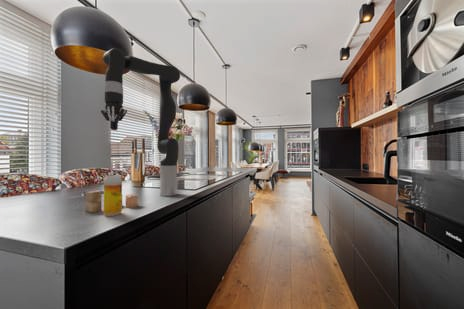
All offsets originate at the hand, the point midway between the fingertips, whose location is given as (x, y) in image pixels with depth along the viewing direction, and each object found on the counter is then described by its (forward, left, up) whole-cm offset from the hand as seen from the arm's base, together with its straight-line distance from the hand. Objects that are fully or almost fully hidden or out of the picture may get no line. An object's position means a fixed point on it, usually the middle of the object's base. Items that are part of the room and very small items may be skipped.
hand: (113, 130), depth 96 cm
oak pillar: (+11, 0, -35) cm, 37 cm away
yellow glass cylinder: (+13, +12, -35) cm, 39 cm away
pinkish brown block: (+1, +10, -35) cm, 37 cm away
